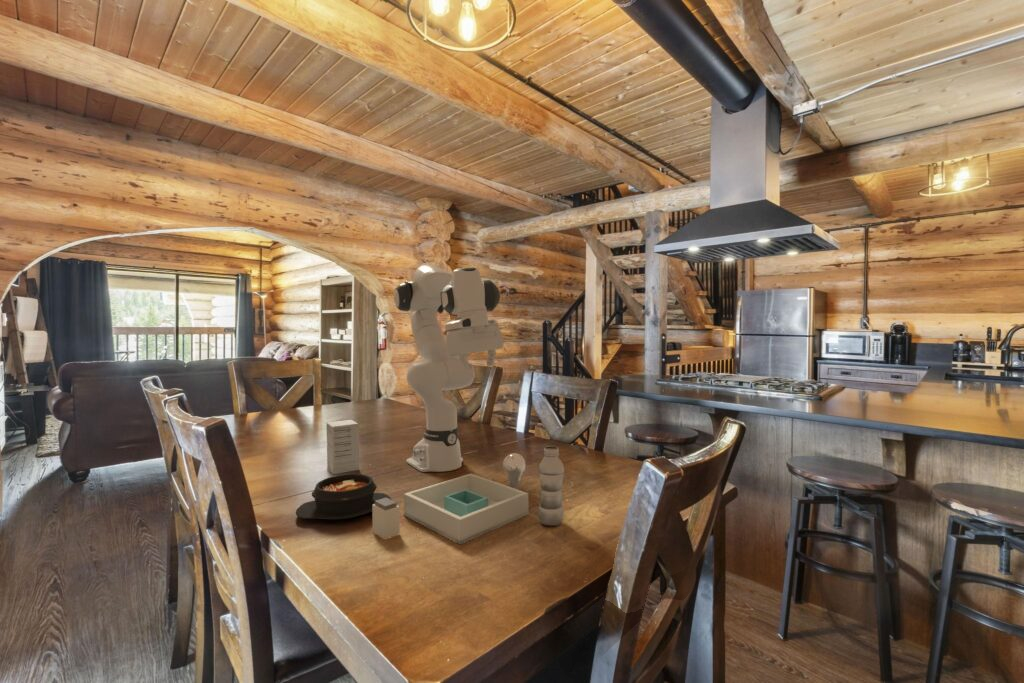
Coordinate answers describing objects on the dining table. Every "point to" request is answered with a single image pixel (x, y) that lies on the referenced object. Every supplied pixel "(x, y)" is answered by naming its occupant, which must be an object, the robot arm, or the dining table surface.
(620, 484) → the dining table surface
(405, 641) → the dining table surface
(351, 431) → the supplement box
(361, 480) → the casserole
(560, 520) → the plastic bottle
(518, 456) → the light bulb
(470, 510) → the walled box
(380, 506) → the grey-topped white block
